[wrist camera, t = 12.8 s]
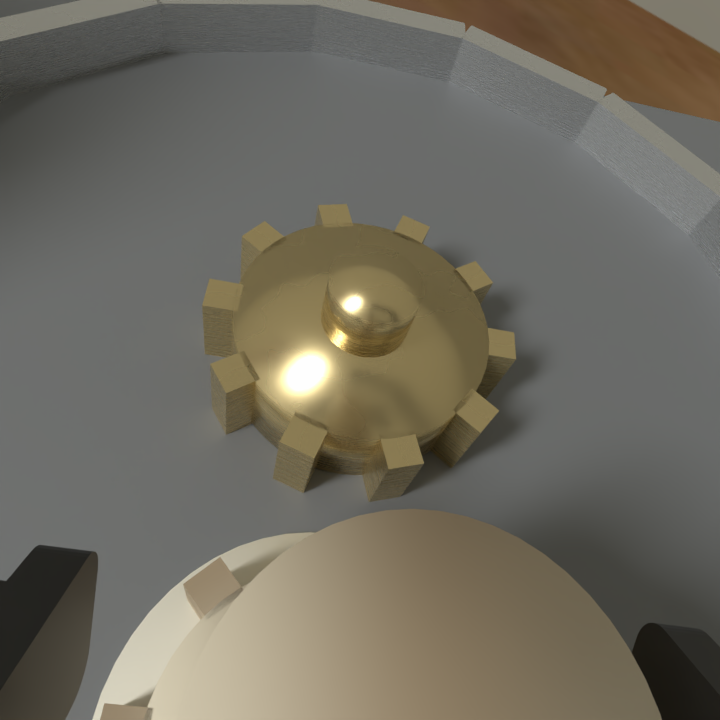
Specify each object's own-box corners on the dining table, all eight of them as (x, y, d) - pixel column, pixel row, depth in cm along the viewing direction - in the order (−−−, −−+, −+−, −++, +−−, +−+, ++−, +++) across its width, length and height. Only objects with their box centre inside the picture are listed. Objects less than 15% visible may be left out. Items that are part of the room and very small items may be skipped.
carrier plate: (714, 140, 30) (730, 120, 29) (1107, 1253, 12) (1186, 1299, 11) (-6, -20, 27) (-15, -49, 26) (-994, 1251, 8) (-1159, 1320, 7)
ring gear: (722, 127, 29) (752, 90, 28) (1140, 1255, 12) (1295, 1342, 10) (-7, -37, 26) (-23, -92, 24) (-1047, 1256, 8) (-1393, 1395, 6)
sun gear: (481, 283, 21) (528, 197, 18) (489, 519, 17) (554, 464, 13) (234, 237, 20) (236, 138, 17) (173, 474, 16) (160, 403, 13)
